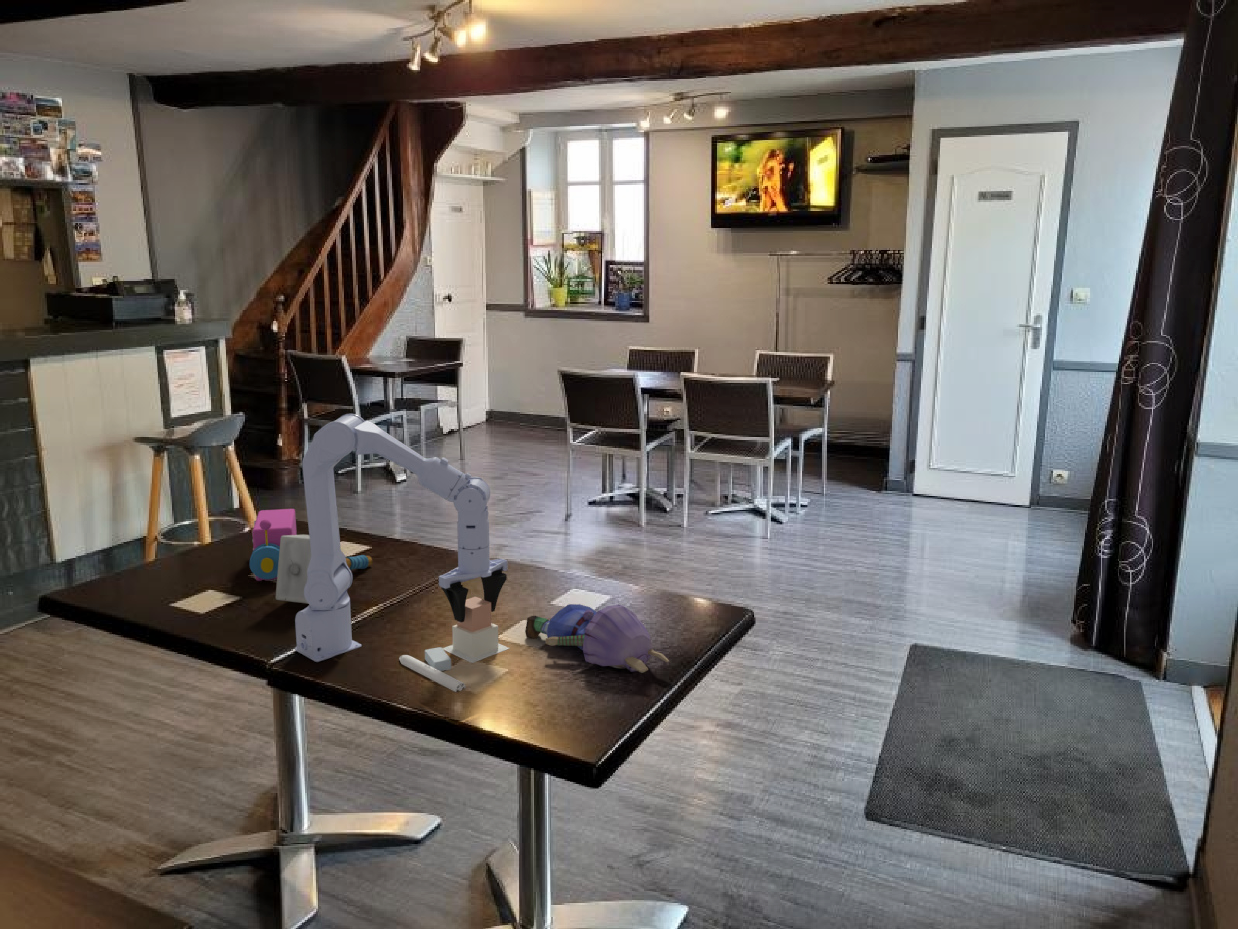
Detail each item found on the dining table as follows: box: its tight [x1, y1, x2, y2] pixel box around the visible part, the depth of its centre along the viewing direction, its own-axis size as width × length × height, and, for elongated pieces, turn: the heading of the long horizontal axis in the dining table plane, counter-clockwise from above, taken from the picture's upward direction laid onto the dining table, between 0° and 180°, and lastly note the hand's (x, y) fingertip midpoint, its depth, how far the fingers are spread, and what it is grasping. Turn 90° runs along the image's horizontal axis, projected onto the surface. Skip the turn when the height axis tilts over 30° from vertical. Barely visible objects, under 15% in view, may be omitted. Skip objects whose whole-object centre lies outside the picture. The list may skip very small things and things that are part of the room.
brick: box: [424, 646, 452, 672], centre depth 164 cm, size 6×3×2 cm, turn 28°
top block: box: [456, 596, 492, 632], centre depth 170 cm, size 4×4×4 cm
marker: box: [398, 654, 466, 693], centre depth 160 cm, size 18×2×2 cm, turn 47°
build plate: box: [441, 642, 511, 664], centre depth 171 cm, size 9×9×1 cm
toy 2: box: [524, 603, 670, 674], centre depth 169 cm, size 18×11×30 cm
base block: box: [451, 622, 499, 658], centre depth 170 cm, size 6×6×4 cm
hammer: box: [275, 534, 373, 604], centre depth 203 cm, size 8×13×30 cm
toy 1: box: [249, 508, 298, 582], centre depth 214 cm, size 28×9×15 cm, turn 17°
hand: (475, 615), depth 170 cm, fingers open, 7 cm apart
